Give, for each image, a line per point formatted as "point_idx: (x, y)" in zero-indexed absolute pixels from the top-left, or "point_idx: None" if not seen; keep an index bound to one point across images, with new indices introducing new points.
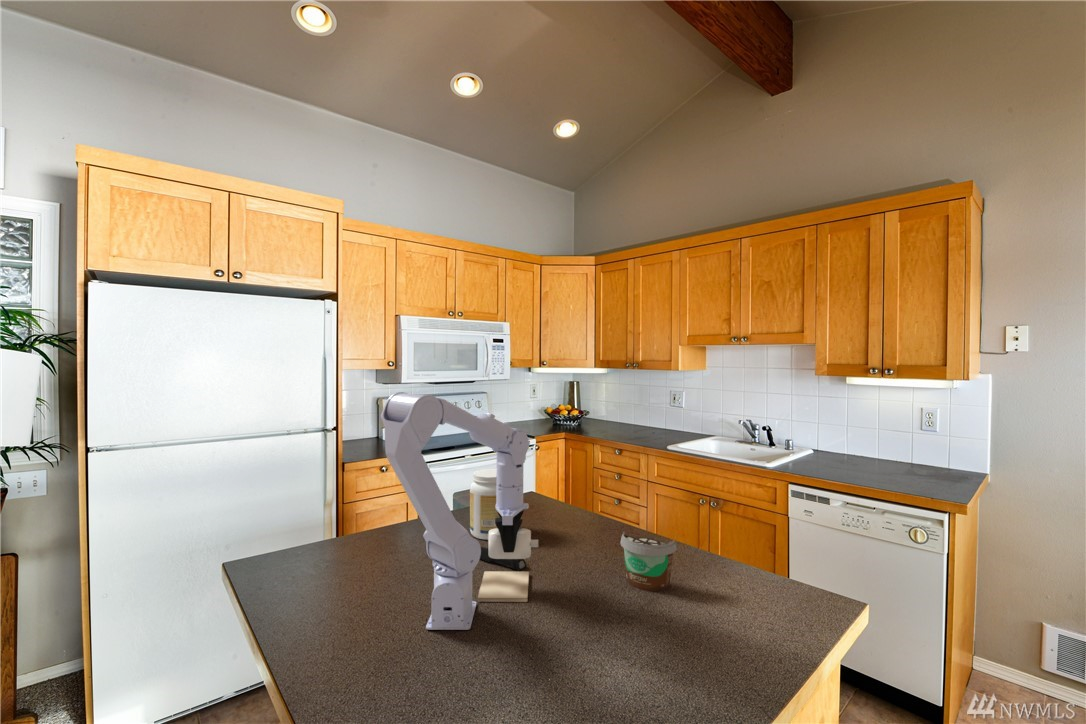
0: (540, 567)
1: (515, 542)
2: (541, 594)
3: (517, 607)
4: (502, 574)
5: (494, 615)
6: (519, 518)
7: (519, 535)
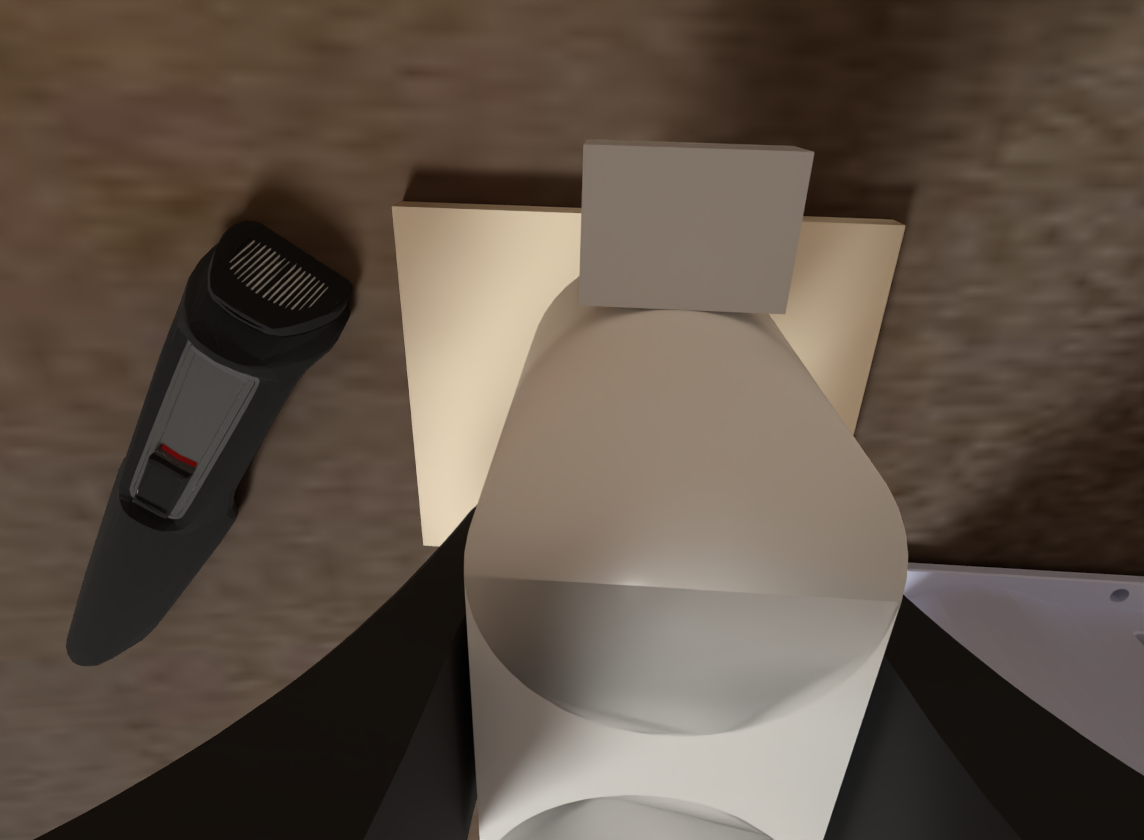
0: (220, 78)
1: (918, 609)
2: (780, 83)
3: (958, 298)
4: (467, 427)
5: (1023, 450)
6: (372, 834)
7: (891, 624)
